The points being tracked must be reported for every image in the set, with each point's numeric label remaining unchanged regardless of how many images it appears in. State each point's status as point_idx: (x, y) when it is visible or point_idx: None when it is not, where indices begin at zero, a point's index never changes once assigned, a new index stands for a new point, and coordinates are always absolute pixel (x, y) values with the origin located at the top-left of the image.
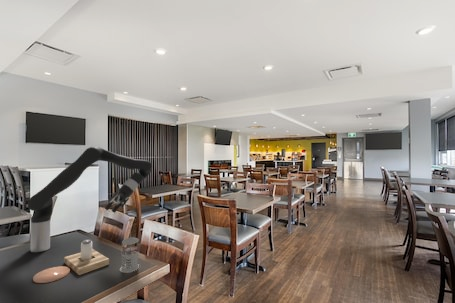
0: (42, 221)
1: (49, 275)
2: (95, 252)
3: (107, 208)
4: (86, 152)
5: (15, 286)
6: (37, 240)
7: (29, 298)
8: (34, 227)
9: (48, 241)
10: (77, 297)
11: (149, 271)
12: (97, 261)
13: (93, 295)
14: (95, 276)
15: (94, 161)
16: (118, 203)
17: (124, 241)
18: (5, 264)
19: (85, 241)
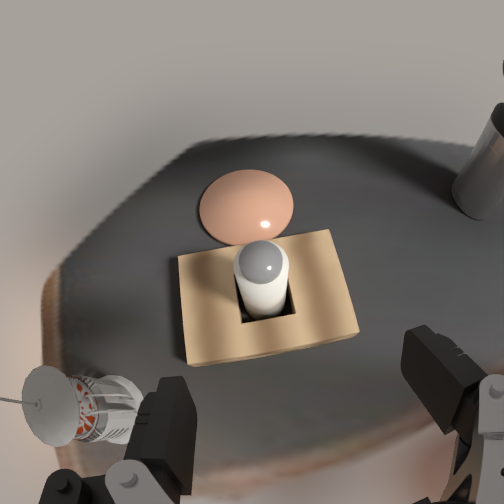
0: (497, 128)
1: (235, 197)
2: (304, 335)
3: (412, 366)
4: None
5: (240, 149)
6: (466, 165)
7: (156, 172)
8: (484, 128)
9: (478, 199)
10: (79, 246)
11: None
12: (193, 319)
13: (60, 274)
14: (138, 303)
15: None
16: (109, 491)
17: (41, 373)
18: (394, 137)
19: (254, 252)
